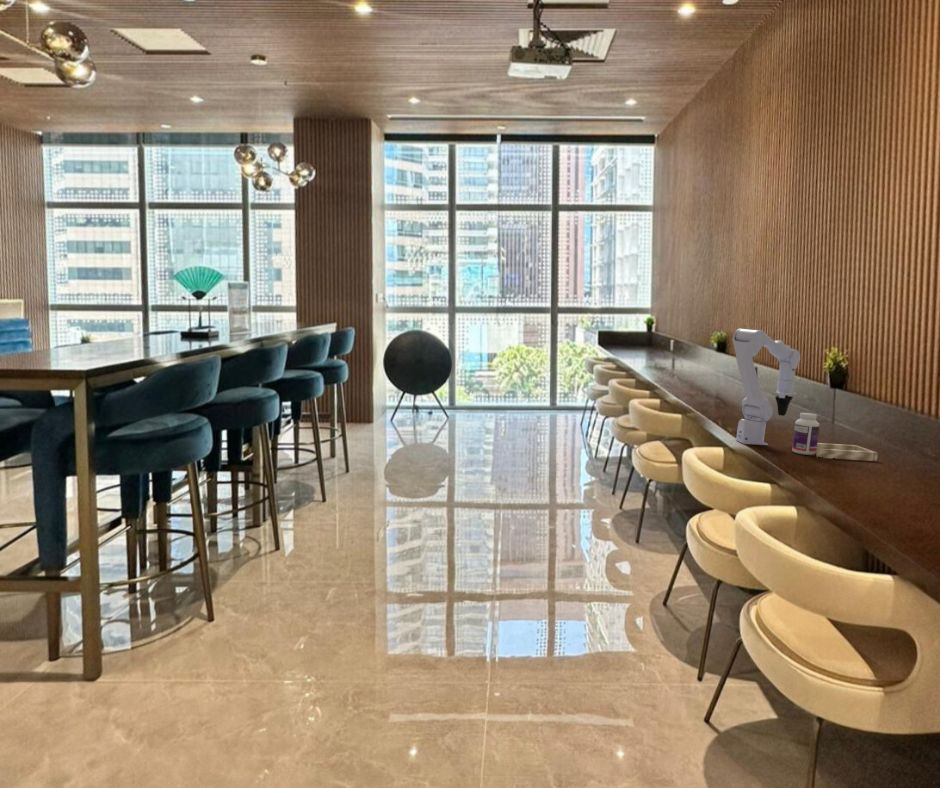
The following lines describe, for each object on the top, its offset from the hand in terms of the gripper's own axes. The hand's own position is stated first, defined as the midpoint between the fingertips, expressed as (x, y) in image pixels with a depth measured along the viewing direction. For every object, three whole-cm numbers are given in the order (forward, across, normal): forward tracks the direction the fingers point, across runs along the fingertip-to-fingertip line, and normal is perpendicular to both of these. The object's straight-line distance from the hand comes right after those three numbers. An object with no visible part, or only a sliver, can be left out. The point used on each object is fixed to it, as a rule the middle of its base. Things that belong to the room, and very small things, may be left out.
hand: (781, 414), depth 302 cm
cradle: (+10, -13, -21) cm, 27 cm away
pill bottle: (+10, -19, -11) cm, 25 cm away
